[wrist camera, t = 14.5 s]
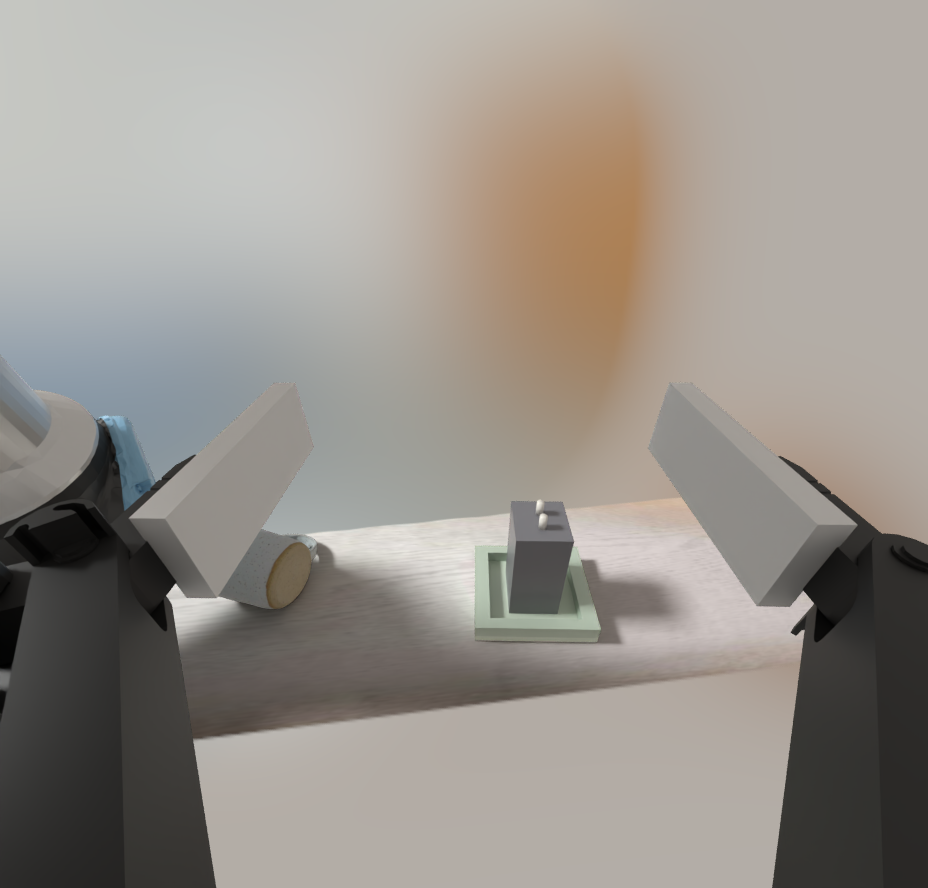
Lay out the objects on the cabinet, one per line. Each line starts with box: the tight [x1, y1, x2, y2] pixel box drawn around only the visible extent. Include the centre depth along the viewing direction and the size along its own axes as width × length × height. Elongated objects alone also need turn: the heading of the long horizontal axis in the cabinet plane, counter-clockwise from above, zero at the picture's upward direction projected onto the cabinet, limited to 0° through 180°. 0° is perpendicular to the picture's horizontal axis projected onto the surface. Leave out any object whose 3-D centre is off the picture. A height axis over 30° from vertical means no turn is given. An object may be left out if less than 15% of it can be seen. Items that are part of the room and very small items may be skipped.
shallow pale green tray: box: [475, 546, 601, 643], centre depth 40 cm, size 12×10×2 cm
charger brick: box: [506, 500, 574, 614], centre depth 37 cm, size 5×5×12 cm
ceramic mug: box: [218, 529, 317, 609], centre depth 41 cm, size 11×8×8 cm
